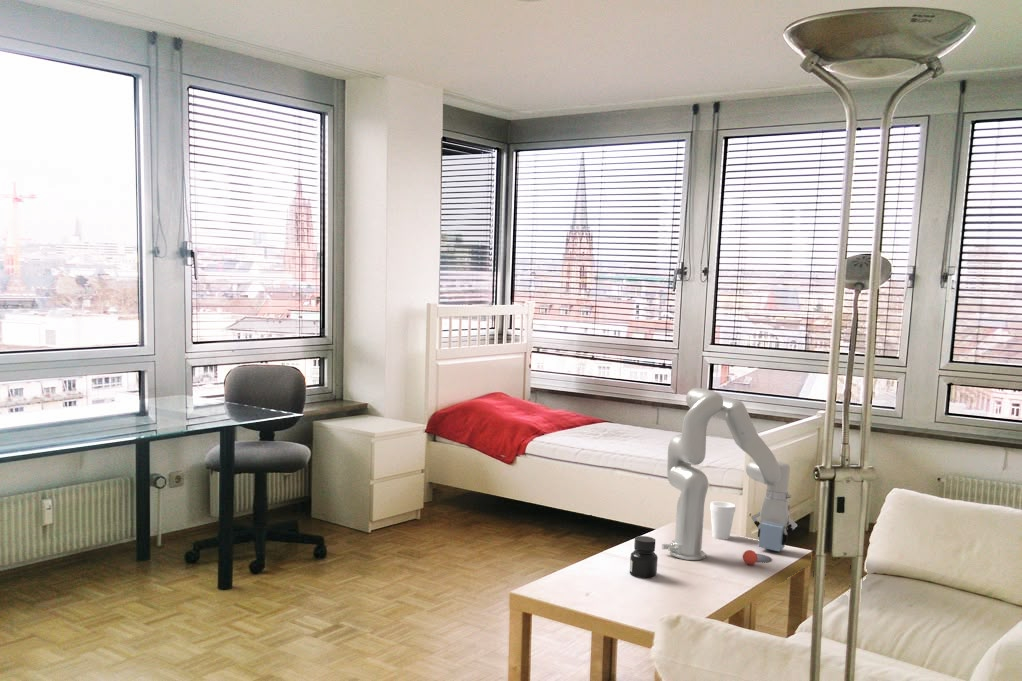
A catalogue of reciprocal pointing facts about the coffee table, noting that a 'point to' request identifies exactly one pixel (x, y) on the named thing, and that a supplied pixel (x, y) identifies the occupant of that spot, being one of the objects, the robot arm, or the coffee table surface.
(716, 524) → the foam cup
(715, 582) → the coffee table surface
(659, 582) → the coffee table surface
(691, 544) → the robot arm
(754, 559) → the ball
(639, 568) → the ink bottle
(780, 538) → the blue box
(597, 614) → the coffee table surface
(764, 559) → the disc
